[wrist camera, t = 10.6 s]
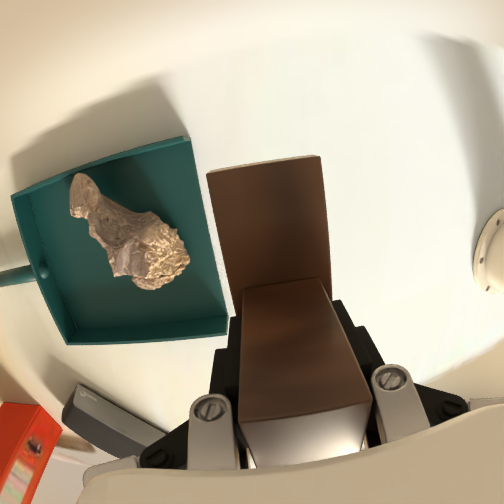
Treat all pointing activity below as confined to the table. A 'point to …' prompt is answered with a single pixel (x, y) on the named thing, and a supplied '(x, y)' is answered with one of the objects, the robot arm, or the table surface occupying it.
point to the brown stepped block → (287, 314)
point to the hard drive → (107, 425)
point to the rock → (129, 236)
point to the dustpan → (96, 257)
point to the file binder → (24, 450)
